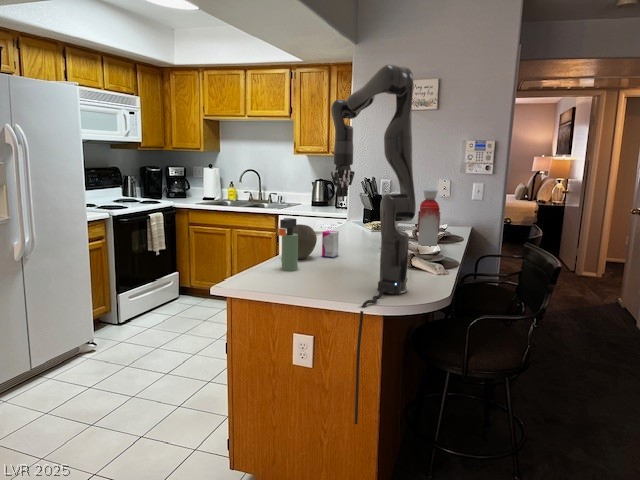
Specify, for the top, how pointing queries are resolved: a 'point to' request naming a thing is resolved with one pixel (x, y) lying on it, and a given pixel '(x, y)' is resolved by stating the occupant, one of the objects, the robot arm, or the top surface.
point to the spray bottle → (289, 245)
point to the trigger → (282, 232)
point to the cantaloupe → (305, 240)
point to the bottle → (428, 219)
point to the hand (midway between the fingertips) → (342, 196)
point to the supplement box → (330, 244)
